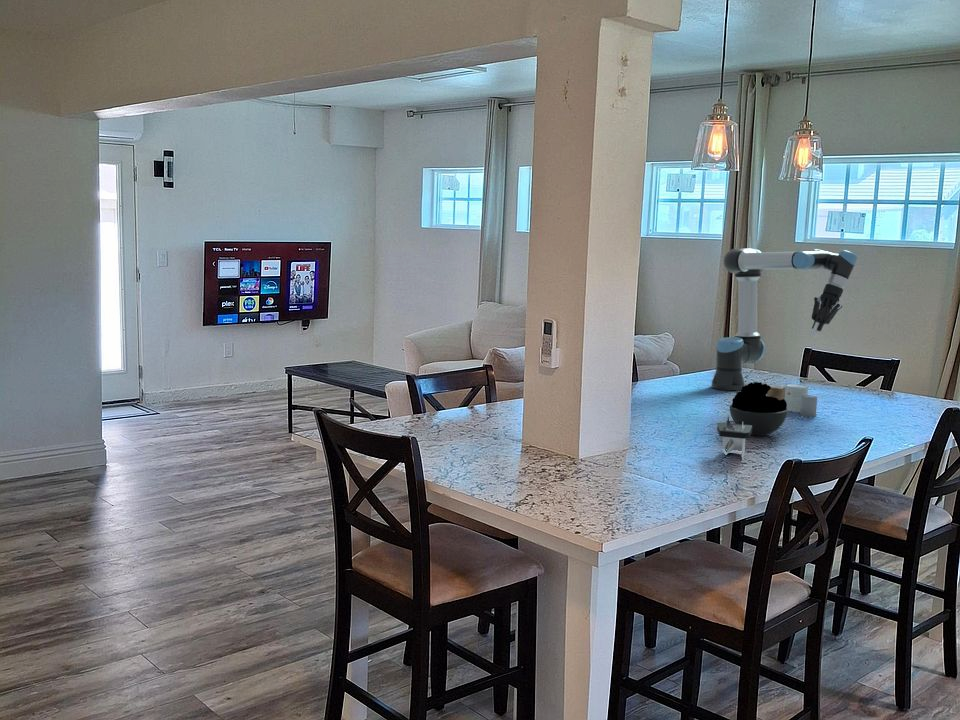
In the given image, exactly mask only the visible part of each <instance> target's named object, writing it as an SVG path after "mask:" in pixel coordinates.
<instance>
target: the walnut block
mask: <svg viewBox="0 0 960 720" xmlns="http://www.w3.org/2000/svg"><path fill="white" fill-rule="evenodd" d="M770 386H771V389H770V390H769V391H768V393H767V395H766V396H768V397H775V398H778V400H782V399H784V400H785V386H781V385H775V384H774V385H773V384H772V385H770Z"/></svg>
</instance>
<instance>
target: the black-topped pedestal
mask: <svg viewBox="0 0 960 720" xmlns="http://www.w3.org/2000/svg"><path fill="white" fill-rule="evenodd" d="M741 423H742V424H741ZM716 426H717V427H716V430H717V433H718V436H719V437H722V445H721V446H722V447H721V450H722V449H725V451H726V452H730V451H732V450H738V451H742V455H740V456H741V457H742V456H743V454H744V452H745V451H746V450H745V449H746V439H750V437H751V433H752V425H743V422H740V424H739V422H738V423H735V422H734V421H733V420H730V415H728V417H727V418H726V419H725V422H717V424H716ZM726 449H727V450H726Z"/></svg>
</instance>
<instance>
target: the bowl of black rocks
mask: <svg viewBox="0 0 960 720" xmlns="http://www.w3.org/2000/svg"><path fill="white" fill-rule="evenodd" d="M770 389H771V385H768V384H767V383H762V382H761V381H760V382H759V381H754V382H749V383H748V384H745V386H743V387H742V389H741V390H740V391H737V392H736V393H735V395H734V397H733V398H732V401H731V402H732V404H730V405H729V412H730V417H731V419H732V421H734V423H738V422H739V424H740V422H743V425H752V433H751V434H754V435H753V436H758V435H760V436H765V435H770V434H773V433H774V432H776V431H777V430H778V429H780V427H781V426H782V425H783V424H784V422H785V421H786V418H787V416H788V412H789V411H788V410H787V403H786V401H785V400H784V399H782V400H778V398H775V397H768V396H767V393H768V391H769V390H770ZM741 424H742V423H741Z"/></svg>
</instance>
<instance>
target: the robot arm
mask: <svg viewBox="0 0 960 720" xmlns="http://www.w3.org/2000/svg"><path fill="white" fill-rule="evenodd" d="M857 259H858V255H857V254H856V253H854V252H851V251H849V250H845V249H842V250H840V251H839V253H834V252H830V251H826V250H824V249H818V248H814V249H813V250H811V251H808V250H807V251H806V250H804V251H800V250H799V251H766V252H765V251H763V252H762V251H760V249H757V248H750V247H749V248H748V247H747V248H746V247H745V248H732V249H730V250H728V251H727V252H726V254H725V255H724V257H723V266H724V269H725V270H726V271H728V272H729V273H731V274H733V275H734V278H735V279H736V280H737V283H738V285H737V286H738V287H737V289H738V292H737V293H738V295H737V296H738V299H737V300H738V301H737V303H738V305H737V306H738V308H737V309H738V311H737V312H738V314H737V315H738V319H737V320H738V321H737V322H738V323H737V325H738V327H737V328H738V329H737V332H736V333H735V335H734V336H730V337H728V336H727V337H722V338H720V339H719V340H718V341H717V343H716V344H717V346H716V361H715V362H716V364H715V373H714V374H713V376H712V377H713V378H712V381H711V382H710V383H711V386H710V388H712V387H713V388H712V389H714V388H715V390H719V389H720V390H719V391H730V390H736V391H737V392H738V391H741V389H742V387H743V386H745V385H746V384H745V380H744V379H745V378H744V375H743V371H742V370H743V365H746V364H754V363H757V362H759V361H760V360H762V359H763V357H764V356H765V354H766V353H765V352H766V346H765V345H766V344H765V343H764V342H763V340H762V339H761V334H760V333H759V332H758V280H760V278H761V277H762V273H761V272H763V270H810V269H811V270H816V269H824V270H828V271H831V272H830V273H829V277H828V279H827V281H826V282H827V283H826V284H825V285H824V288H823V290H822V294H821V295H820V296H818V297H817V296H815V297H814V299H813V300H814V302H813V303H814V305H813V309H812V314H811V320H813V321H814V322H813V323H812V327H811V329H812V330H811V332H810V334H809V337H812V338H813V339H817V337H818V335H819V332H821V331H822V330H823V327H824V326H825V325H829V324H830V323H831V322H832V321H833V319H834V317H835V315H836V314H837V312H838V311H840V310H841V309H842V308H843V305H842V304H841V303H840V298H841V297H842V295H843V292H844V289H845V287H846V285H847V283H848V281H849V278H850V275H851V274H852V272H853V270H854V267H855V266H856V262H857Z"/></svg>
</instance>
